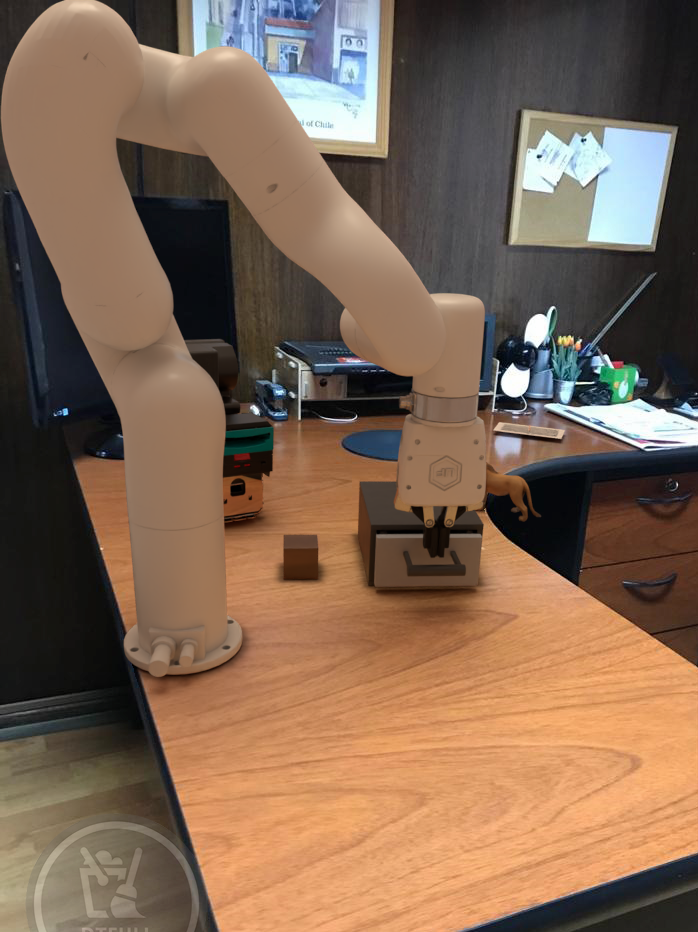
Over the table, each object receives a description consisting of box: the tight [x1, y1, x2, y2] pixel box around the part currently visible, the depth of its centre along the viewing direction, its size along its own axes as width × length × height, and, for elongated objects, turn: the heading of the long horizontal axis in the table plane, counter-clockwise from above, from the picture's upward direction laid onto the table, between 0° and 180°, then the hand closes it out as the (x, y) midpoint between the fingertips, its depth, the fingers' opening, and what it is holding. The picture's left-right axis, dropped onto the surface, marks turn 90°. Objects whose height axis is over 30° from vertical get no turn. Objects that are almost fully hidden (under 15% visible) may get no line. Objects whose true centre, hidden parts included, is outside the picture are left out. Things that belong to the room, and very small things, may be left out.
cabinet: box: [357, 480, 485, 586], centre depth 107 cm, size 17×15×9 cm
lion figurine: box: [475, 461, 542, 522], centre depth 126 cm, size 15×5×9 cm, turn 66°
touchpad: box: [493, 421, 566, 440], centre depth 173 cm, size 8×15×2 cm, turn 72°
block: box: [282, 534, 319, 580], centre depth 103 cm, size 4×4×4 cm
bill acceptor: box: [184, 338, 275, 523], centre depth 120 cm, size 10×23×25 cm, turn 33°
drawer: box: [373, 530, 483, 588], centre depth 102 cm, size 21×13×7 cm, turn 7°
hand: (435, 552), depth 95 cm, fingers closed
